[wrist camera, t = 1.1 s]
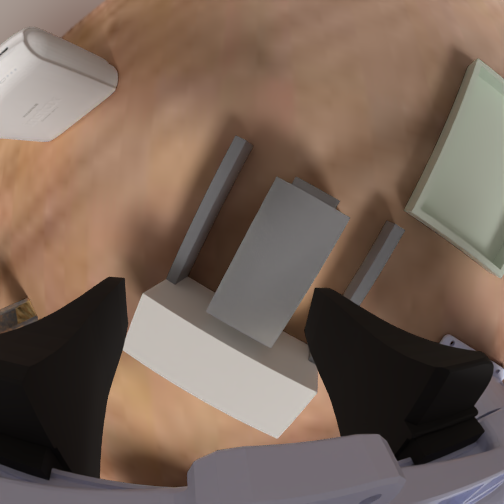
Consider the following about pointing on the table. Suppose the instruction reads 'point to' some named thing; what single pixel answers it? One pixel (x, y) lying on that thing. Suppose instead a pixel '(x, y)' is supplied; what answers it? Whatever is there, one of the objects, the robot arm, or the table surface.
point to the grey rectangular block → (278, 259)
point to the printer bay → (228, 338)
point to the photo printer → (48, 85)
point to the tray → (468, 172)
